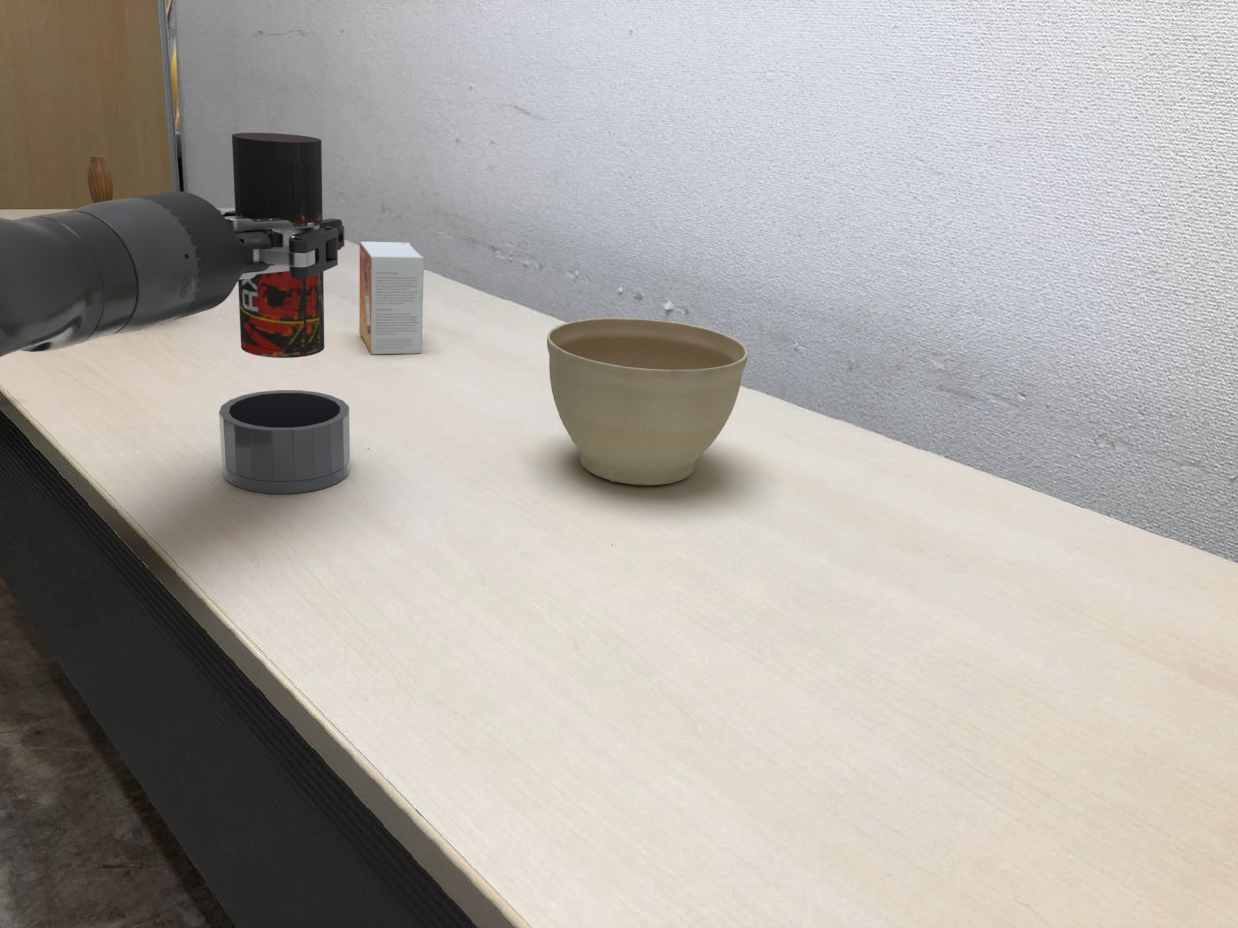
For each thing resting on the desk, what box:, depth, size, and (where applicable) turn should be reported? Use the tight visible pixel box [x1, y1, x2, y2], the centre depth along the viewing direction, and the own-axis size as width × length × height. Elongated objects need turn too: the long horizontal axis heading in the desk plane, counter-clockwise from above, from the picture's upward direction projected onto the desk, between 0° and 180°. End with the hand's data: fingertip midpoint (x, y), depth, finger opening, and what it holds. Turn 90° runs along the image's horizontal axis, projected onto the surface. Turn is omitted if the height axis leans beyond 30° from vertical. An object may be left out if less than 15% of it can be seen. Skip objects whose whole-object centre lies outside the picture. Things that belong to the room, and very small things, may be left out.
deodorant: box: [231, 132, 325, 359], centre depth 78 cm, size 6×6×15 cm
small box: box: [358, 241, 425, 355], centre depth 117 cm, size 8×6×10 cm
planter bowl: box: [546, 317, 749, 486], centre depth 89 cm, size 16×16×11 cm
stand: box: [218, 389, 351, 495], centre depth 83 cm, size 9×9×5 cm
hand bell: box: [87, 153, 114, 204], centre depth 127 cm, size 8×8×16 cm
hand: (298, 227), depth 80 cm, fingers closed on deodorant, 6 cm apart
